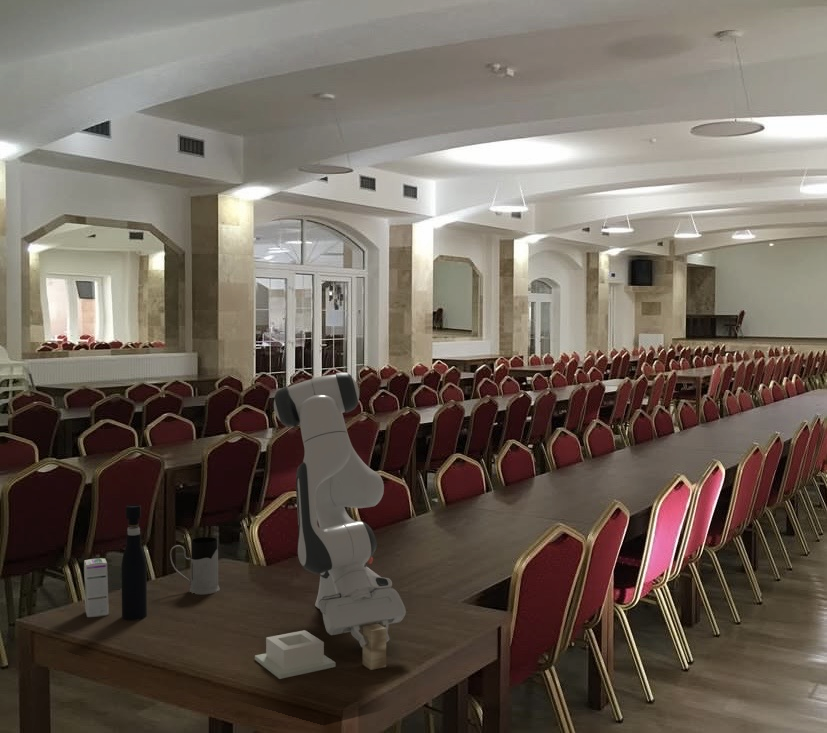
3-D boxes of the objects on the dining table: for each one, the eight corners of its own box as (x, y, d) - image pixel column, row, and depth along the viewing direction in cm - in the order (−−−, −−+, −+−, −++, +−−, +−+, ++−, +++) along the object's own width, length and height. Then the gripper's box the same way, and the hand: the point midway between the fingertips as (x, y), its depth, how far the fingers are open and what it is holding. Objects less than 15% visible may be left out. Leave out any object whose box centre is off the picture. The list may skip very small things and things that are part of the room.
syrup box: (109, 615, 251) (108, 562, 250) (86, 618, 249) (85, 564, 248) (106, 609, 256) (106, 557, 256) (84, 611, 254) (83, 559, 253)
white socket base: (308, 648, 226) (308, 626, 225) (335, 666, 214) (335, 643, 214) (254, 659, 218) (254, 636, 218) (279, 679, 206) (279, 654, 206)
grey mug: (219, 593, 272) (219, 542, 271) (169, 596, 269) (169, 544, 268) (219, 585, 280) (219, 535, 279) (170, 587, 277) (170, 538, 276)
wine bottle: (133, 621, 246) (132, 509, 244) (116, 617, 249) (115, 506, 248) (151, 615, 251) (150, 505, 250) (135, 611, 254) (134, 502, 253)
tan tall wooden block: (377, 661, 218) (377, 623, 217) (386, 666, 214) (386, 628, 214) (362, 664, 215) (362, 626, 215) (371, 670, 212) (371, 631, 212)
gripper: (320, 590, 214) (340, 644, 206) (396, 577, 225) (417, 628, 217) (311, 604, 218) (331, 658, 210) (386, 591, 229) (407, 642, 221)
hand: (375, 643), depth 214 cm, fingers closed on tan tall wooden block, 4 cm apart
